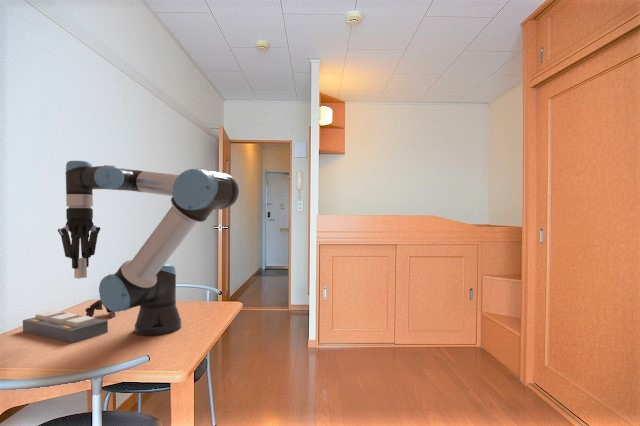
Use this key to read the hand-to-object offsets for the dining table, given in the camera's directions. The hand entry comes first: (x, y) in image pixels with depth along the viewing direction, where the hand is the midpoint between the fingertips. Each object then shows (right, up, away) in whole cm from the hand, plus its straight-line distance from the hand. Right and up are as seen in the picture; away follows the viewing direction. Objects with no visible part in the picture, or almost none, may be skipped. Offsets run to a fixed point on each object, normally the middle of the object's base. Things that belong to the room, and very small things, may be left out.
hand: (80, 277), depth 128 cm
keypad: (-8, -19, +4) cm, 21 cm away
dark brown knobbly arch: (-5, -20, +23) cm, 31 cm away
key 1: (-16, -17, +8) cm, 25 cm away
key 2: (0, -17, 0) cm, 17 cm away
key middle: (-8, -17, +4) cm, 19 cm away
